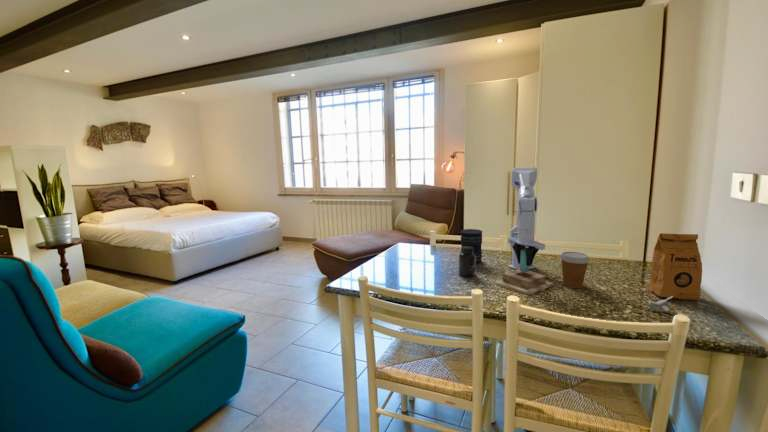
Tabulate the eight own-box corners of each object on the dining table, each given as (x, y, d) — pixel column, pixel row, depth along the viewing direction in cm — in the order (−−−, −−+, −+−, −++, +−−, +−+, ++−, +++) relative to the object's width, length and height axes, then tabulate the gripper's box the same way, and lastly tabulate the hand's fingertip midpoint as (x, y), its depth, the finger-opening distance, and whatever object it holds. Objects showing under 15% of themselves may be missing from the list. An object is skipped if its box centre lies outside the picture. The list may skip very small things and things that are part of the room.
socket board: (521, 275, 140) (521, 266, 140) (553, 285, 129) (554, 275, 128) (495, 283, 132) (495, 274, 131) (527, 295, 120) (527, 284, 120)
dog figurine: (652, 315, 108) (640, 301, 108) (677, 302, 105) (665, 288, 106) (657, 320, 105) (645, 305, 105) (683, 306, 102) (671, 291, 103)
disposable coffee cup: (576, 292, 122) (579, 259, 120) (553, 283, 130) (554, 253, 129) (593, 286, 126) (595, 255, 124) (569, 279, 135) (570, 250, 133)
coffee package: (703, 304, 110) (712, 237, 106) (657, 299, 114) (664, 235, 110) (688, 292, 119) (695, 231, 115) (645, 289, 123) (651, 229, 119)
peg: (523, 268, 132) (523, 248, 130) (530, 270, 129) (531, 250, 128) (518, 270, 130) (518, 250, 128) (525, 272, 127) (526, 251, 126)
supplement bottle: (475, 277, 139) (476, 249, 137) (458, 277, 141) (459, 249, 139) (474, 272, 146) (475, 245, 144) (458, 271, 147) (458, 245, 145)
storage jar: (484, 264, 156) (485, 233, 154) (462, 265, 156) (463, 233, 154) (478, 258, 166) (479, 228, 164) (458, 259, 166) (458, 229, 164)
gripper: (503, 227, 131) (502, 261, 133) (537, 233, 119) (535, 271, 121) (514, 225, 135) (513, 258, 137) (549, 231, 122) (547, 267, 124)
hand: (524, 264), depth 129 cm, fingers closed on peg, 3 cm apart
